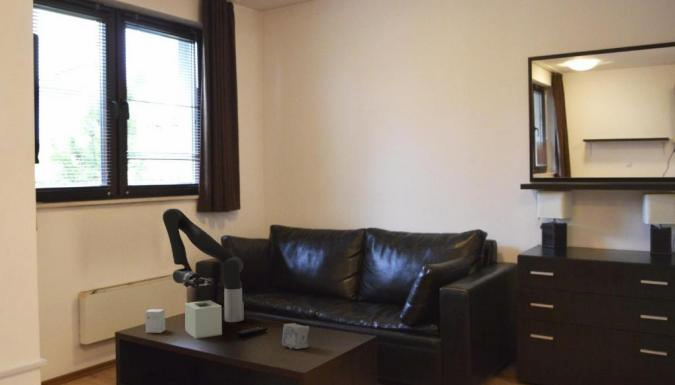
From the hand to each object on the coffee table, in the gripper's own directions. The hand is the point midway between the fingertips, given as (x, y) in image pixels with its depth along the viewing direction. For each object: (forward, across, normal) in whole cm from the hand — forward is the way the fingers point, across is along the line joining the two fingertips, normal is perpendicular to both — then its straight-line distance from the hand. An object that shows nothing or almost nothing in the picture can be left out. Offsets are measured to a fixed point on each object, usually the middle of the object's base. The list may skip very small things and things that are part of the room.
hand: (203, 284), depth 293 cm
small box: (-17, -19, +24) cm, 35 cm away
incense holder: (+45, +27, +24) cm, 58 cm away
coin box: (-1, 0, +24) cm, 24 cm away
